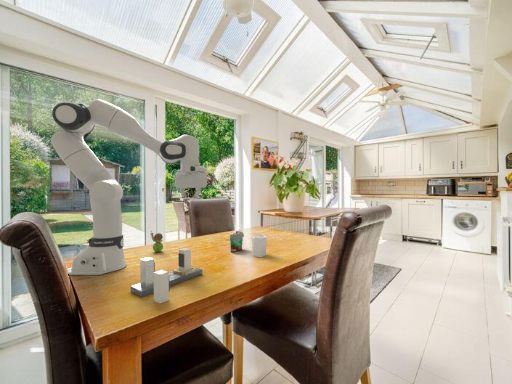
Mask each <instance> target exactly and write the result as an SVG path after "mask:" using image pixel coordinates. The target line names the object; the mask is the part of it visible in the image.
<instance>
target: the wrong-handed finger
mask: <svg viewBox="0 0 512 384" xmlns="http://www.w3.org/2000/svg"><path fill="white" fill-rule="evenodd" d="M169 273H170V271H168V270H164V269H159V270H157V271H156V270H155V272H154V293H153V301H154V302H155V303H158V304H161V305H162V303H165V302H168V301H169V300H170V291H171V290H170V287H169Z"/></svg>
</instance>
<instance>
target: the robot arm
mask: <svg viewBox="0 0 512 384" xmlns="http://www.w3.org/2000/svg"><path fill="white" fill-rule="evenodd" d="M51 112H52V113H51V114H52V119H53V121H54V122H55V123H56V124H57V125H58V126H59V127H60V130H59V131H57V132H55V133H53V134H52V136H51V138H50V144H51V145H52V147H53V149H54V150H55V152H56V153H57V155H58V156H59V158H60V160H61V161H63V163H64V164H65V166H66V167H67V168H68V169H69V170H70V171H71V173H73V175H74V177H76V178H77V179H78V180H79V181H80V182H81V183H82V184H83V185H84V186H85V187H87V189H88V190H89V192H88V193H89V203H90V209H91V216H92V237H91V238H89V239H87V240H86V244H88V246H86V248H84V249H83V250H81V251H80V252H79V253H77V255H75V256H74V257H73V259H72V263H71V266H70V267H69V268H67V269H66V270H68V274H69V276H70V275H72V276H99V275H104V274H106V273H112V272H115V271H119V270H121V269H124V268H125V267H127V261H126V258H125V254H124V245H125V241H124V239H125V238H124V234H123V215H122V206H121V204H122V203H121V200H122V198H123V196H124V189H123V186H122V185H121V183H119V182H118V181H117V179H116V178H115V176H113V175H112V174H111V172H110V171H109V170H108V169H107V168H106V167H105V165H104V164H103V163H102V162H101V161H100V160H99V158H98V157H97V155H96V154H95V153H94V151H93V150H92V149H91V148H90V147H89V145H88V144H87V143H86V141H85V140H86V139H87V137H88V136H89V135H90V134H92V133H93V132H94V130H95V128H96V126H98V127H101V128H103V129H104V130H107V131H109V132H111V133H113V134H114V135H116V136H119V137H122V138H124V139H126V140H128V141H132V142H134V143H137V144H140V146H141V145H142V146H143V147H145V148H147V149H148V150H150V151H151V152H154V153H155V154H156V155H158V156H159V157H160V159H161V160H162V161H163V162H164V163H166V164H167V165H168V164H169V165H175V164H177V163H179V162H180V169H178V170H177V171H176V173H175V175H174V187H175V189H179V192H180V193H181V197H182V198H186V197H187V193H186V191H185V190H186V189H188V188H189V189H190V188H193V189H194V188H195V193H193V198H199V197H200V193H201V190H202V189H203V188H207V185H208V174H207V171H208V169H207V167H205V166H202V165H200V160H199V157H200V145H199V144H200V143H199V139H198V138H197V137H196V136H195V135H191V134H182V135H181V136H178V137H177V138H174V139H173V138H172V139H169V140H165V141H164V142H163V141H161V140H159V138H156V137H155V136H152V135H151V134H149V132H147V131H146V130H145V129H144V128H143V127H142V126H141V124H140V123H139V121H138V120H137V119H136V118H135V117H134V116H133V115H131V114H130V113H129V112H127V111H125V110H124V109H122V108H121V107H119V106H116V105H114V104H112V103H110V102H108V101H106V100H102V99H94V100H92V101H91V102H89V104H88V105H87V106H86V105H85V104H84V103H77V102H76V103H75V102H67V101H66V102H60V103H57V104H56V105H55V106H54V107H53V109H52V111H51Z"/></svg>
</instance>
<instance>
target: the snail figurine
mask: <svg viewBox="0 0 512 384" xmlns="http://www.w3.org/2000/svg"><path fill="white" fill-rule="evenodd" d="M152 231H153V230H150V236H151V240H152V241H153V242H154V243H153V245H152V250H153V251H154V252H156V253H159V252H162V251H163V249H164V245H163V243H162V242H163V237H164V236H163V234H162V233H160V232H158V233H155V234H154V233H153V232H152Z"/></svg>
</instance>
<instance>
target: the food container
mask: <svg viewBox="0 0 512 384" xmlns="http://www.w3.org/2000/svg"><path fill="white" fill-rule="evenodd" d="M244 237H245V234H244V233H243V231H239V230H236V231H235V232H234V233H233V234H229V239H230V253H239V252H241V251H243V241H244Z"/></svg>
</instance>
